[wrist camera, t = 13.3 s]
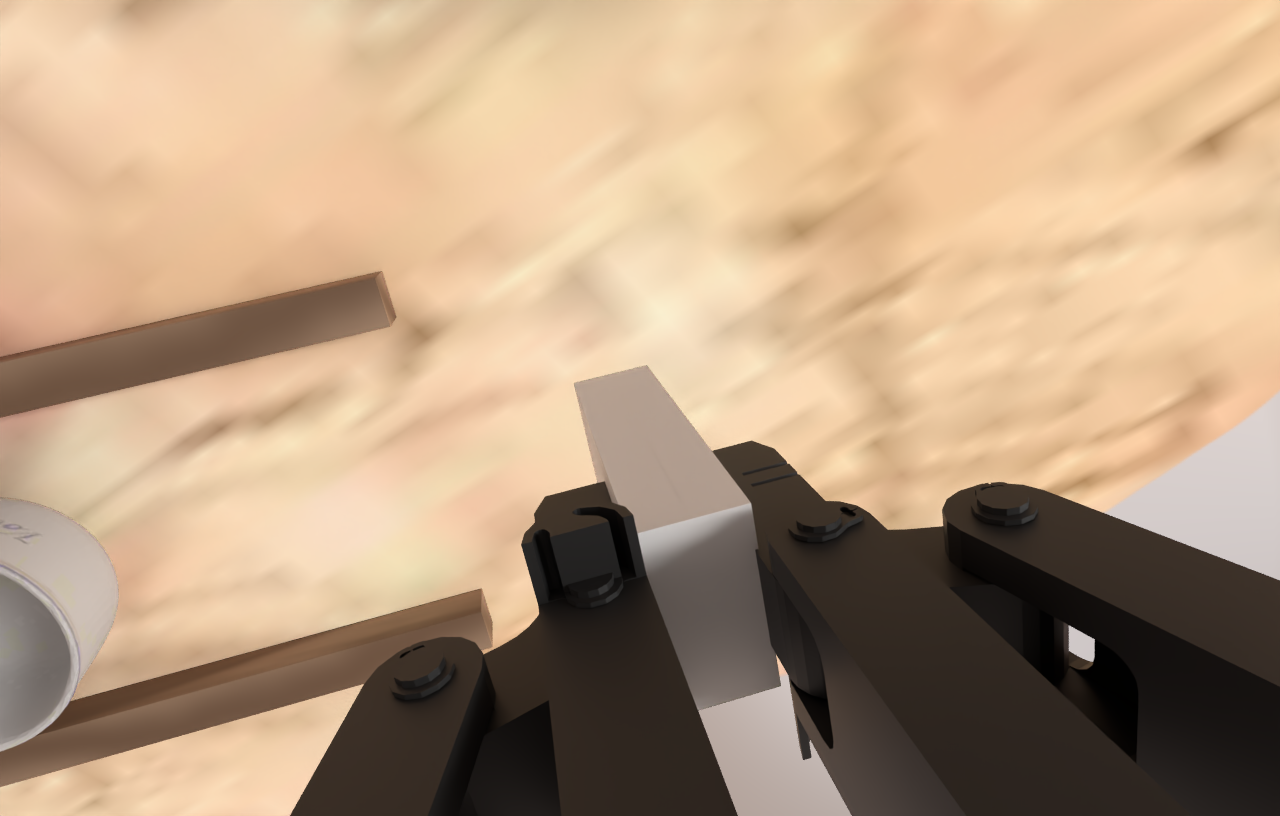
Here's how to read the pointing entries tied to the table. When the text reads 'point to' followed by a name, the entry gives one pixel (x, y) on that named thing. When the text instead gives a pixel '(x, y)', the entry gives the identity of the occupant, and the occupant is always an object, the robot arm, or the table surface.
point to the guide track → (254, 675)
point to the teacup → (47, 614)
